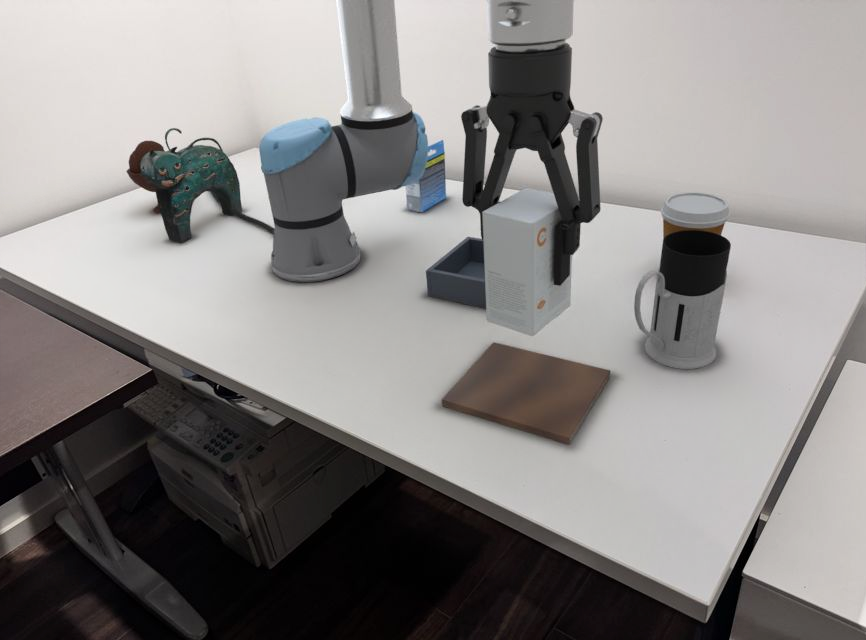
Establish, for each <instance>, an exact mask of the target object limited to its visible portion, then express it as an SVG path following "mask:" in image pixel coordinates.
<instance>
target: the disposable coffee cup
mask: <svg viewBox="0 0 866 640" xmlns="http://www.w3.org/2000/svg"><path fill="white" fill-rule="evenodd" d="M660 214H661V217H662V228H663V229H662V230H663V231H662V232H663V233H662V234H663V235H662V236H663V239H664V237H665V236H667V235H668V234H670V233H673V232H677V231H683V230H701V231H708V232H712V233H716V234H719V235H721V236H722V233H723V230H724V227H725V225H726V223H727V221H728V219H729V218H730V216H731V210H730V209H729V202H728V201H727V200H726V199H725V198H724V197H721V196H719V195H716V194H712V193H707V192H699V191H698V192H696V191H688V192H687V191H686V192H679V193H674V194H671V195H669V196H667V197H666V199H665V200H664V203H663V205H662V206H661V207H660ZM663 239H662V240H663Z"/></svg>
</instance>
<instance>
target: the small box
mask: <svg viewBox="0 0 866 640" xmlns="http://www.w3.org/2000/svg"><path fill="white" fill-rule="evenodd" d="M500 201H501V202H500ZM500 201H499V203H498V204H496V205H494V206H492V207H490V208H489V209H487V210H485V211H483V212H482V216H483V242H484V266H485V290H486V308H485V312H486V313H485V314H486V315H485V316H486V321H487V322H488V323H491V324H494V325H497V326H500V327H504V328H506V329H509V330H512V331H515V332H517V333H521V334H524V335H527V336H531V337H534V336H536V334H538V333H539V332H541V330H543V329H544V328H545V327H546V326H548V325H549V324H550V323H551V322H553V321H554V320H556V318H557V317H559V316H560V315H561V314H562V313H564V312H565V311H566V310H567V309H568V308H570V307H571V299H572V297H571V296H572V295H571V294H572V270H573V269H572V268H573V255H570V275H569V276H568V278H567V279H566V280H565V281H564V282H563V283H562V285H561V286H558V285H554V249H555V226H556V225H557V224H558V223H559V222H560V221H561V220H562V218H561V215H560V212H559V209H558V206H557V202H556V199H555V196H554V193H553V192H550V191H545V190H539V189H532V188H527V187H525V188H523V189H521V190H519V191H518V192H515V193H514V194H512V195H510V196H508V197H506V198H505V199H503V200H500Z"/></svg>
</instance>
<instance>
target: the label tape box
mask: <svg viewBox="0 0 866 640" xmlns="http://www.w3.org/2000/svg"><path fill="white" fill-rule="evenodd" d="M431 151H432V152H433V151H435V152H434V153H432V154H428V158H427V164H426V168H425V171H424V173H423V175H422V176H421V178H420V179H419V180H418V181H417V182H416V183H414V184H411V185H407V186H405V198H406V199H405V200H406V210H409V211H413V212H416V213H423V212H425V211H427V210H429V209H430V208H432V207H433V206H435V205H436V204H439V203H440V202H442V201H443V200H445V199H447V185H446V182H447V181H446V179H447V178H446V156H445V153H446V152H445V145H444V139H440V140H439V141H437V142H434V143H432V144H430V145H428V153H430V152H431Z"/></svg>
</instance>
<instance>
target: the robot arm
mask: <svg viewBox="0 0 866 640" xmlns="http://www.w3.org/2000/svg"><path fill="white" fill-rule="evenodd" d="M335 1H336V10H337V18H338V27H339V35H340V43H341V50H342V51H341V52H342V59H343V60H342V61H343V68H344V75H345V84H346V92H347V94H346V95H347V101H346V102H345V103H344V105H343V106H342V107H341V108H340V110H339V112H340V113H339V114H340V124H338V125H332V124H331V123H330V121H329V120H328V119H326V118H324V117H311V118H300V119H296V120H293V121H289V122H286V123H284V124H281V125H279V126H276V127H275V128H272V129H271V130H269V131H267V132H266V134H264V135H263V137H262V138H261V140H260V142H259V145H258V146H259V147H258V150H259V158H260V164H261V165H260V169H261V172H262V174H263V178H264V181H265V182H264V183H265V186H266V190H267V195H268V201H269V205H270V211H271V215H272V219H273V225H274V227H273V226H272V225H270V224H267V223H265V222H264V221H261V220H259V219H257V218H254V217H252V216H249V215H246V214H244V213H242V212H238V211H236V210H233V211H232V213H233V214H234V215H233V216H236V217H237V218H240V219H242V220H243V221H246V222H248V223H252V224H253V225H256V226H259V227H261V228H262V229H264V230H266V231H267V232H269V233H271V234H273V239H272V252H271V255H270V262H271V267H272V271H273V273H274V274H275V276H277V277H278V278H280V279H282V280H285V281H290V282H295V283H312V282H313V283H314V282H321V281H326V280H330V279H334V278H337V277H340V276H343V275H345V274H347V273H348V272H350V271H352V270H353V269H354V268H356V267H357V266H358V265H359V263H360V261H361V259H362V258H361V250H360V246H359V243H358V241H357V239H358V237H357V235H356V233H355V232H354V231H352V230H351V228H350V226H349V223H348V222H347V220H346V218H345V215H344V207H343V200H346V199H347V200H348V199H352V198H358V197H361V196H367V195H371V194H376V193H381V192H387V191H395V190H396V191H397V190H399V189H401V188H403V187H406V186H407V185H411V184H414V183H416V182H417V181H418V180H419V179H420V178H421V176H422V175H423V173H424V171H425V168H426V164H427V158H428V156H429V152H428V146H429V140H428V134H427V133H426V125H425V122H424V119H422V117H421V115H419V114H418V113H416V112H414V111H413V104H412V103H411V102H410V101H409V100H408V99H407V98H405V96H403V93H402V92H403V91H402V79H401V67H400V65H401V63H400V53H399V41H398V29H397V27H398V26H397V15H396V13H397V12H396V2H395V1H396V0H335ZM486 2H487V3H486V6H487V7H486V8H487V9H486V13H487V15H486V16H487V40H488V42H490V43H491V45H492V44H493V45H494V46H492V47H491V48H490V49H489V52H488V53H487V57H488V58H487V63H488V64H487V65H488V88H489V91H490V97H489V99H488V101H487V104H486V105H483V106H481V105H477V104H476V105H473V106H472V107H470V108H468V109H466V110H464V111H462V113H461V116H460V118H461V123H462V127H463V132H464V135H465V142H464V160H463V161H464V162H463V164H464V165H463V181H462V199H461V200H462V204H463V205H464V206H465V207H466V208H469V207H472V208H474V209H475V210H477V212H478V213H479V219H480V220H479V221H480V222H479V223H480V237H481V238H480V239H482V240H483V216H482V212H483V211H485V210H487V209H489V208H490V207H492V206H494V205H496V204H498V203H499V202H501V201H502V200H501V195H502V193H503V189H504V187H505V185H506V182H507V178H508V175H509V173H510V169H511V166H512V164H513V161H514V158H515V154H516V152H517V150H522V149H527V150H529V151H532V152H537V154H538V156H539V159H540V161H541V162H542V163H543V165H544V168H545V170H546V174H547V177H548V181H549V183H550V187H551V189H552V193H554V196H555V199H556V202H557V206H558V209H559V212H560V215H561V218H562V220H561V221H560V222H559V223H558V224H557V225H556V226H555V249H554V285H558V286H561V285H562V283H563V282H564V281H565V280H566V279H567V278H568V276H569V275H570V255H572V256H574V254H575V253H576V252H577V251H578V250H579V248H580V246H581V227H582V226H581V224H583V223H584V224H589V223H591V222H592V221H593V220H594V219H595V218H596V217H597V216H598V215H599V214H600V212H601V190H600V189H601V188H600V169H599V147H598V137H599V134H600V130H601V127H602V123H603V120H604V118H603V115H602V114H601V113H600V112H597V111H595V112H593V113H592V114H590V113H587V112H584V111H580V110H578V109H575V106H574V103H573V101H572V98H571V85H572V64H573V63H572V61H573V60H572V59H573V48H572V47H571V45H570V43H568V42H567V41H566V40H569V39H570V38H571V37H572V36H573V35H574V4H575V3H574V2H575V1H574V0H486ZM490 122H491V123H492V125H493V126H494V128H495V129H496V131H497V133H498V136H497V140H496V143H495V146H494V148H493V149H494V150H493V153H494V154H493V158H492V162H491V165H490V167H489V172H488V174H487V177H486V179H485V169H486V155H487V154H486V153H487V140H488V139H487V138H488V126H489V125H490ZM568 124H570V125H571V126H572V134H573V136H574V137H575V138H577V139H576V143H575V144H576V145H575V153H576V170H577V186H578V192H577V189H576V185H575V182H574V179H573V176H572V173H571V169H570V165H569V163H568V160H567V155H566V152H565V150H566V145H565V142H564V138H563V135H562V133H563V132H564V130H565V129H566V127H567V126H568ZM484 182H485V183H484ZM210 193H211V195H212V197H213V198H214V199H215V201H216V202H217V203H218V204H219V205H220V203H219V201H218V198H217V196H216V195H215V194H214V193H213V192H210Z"/></svg>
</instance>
